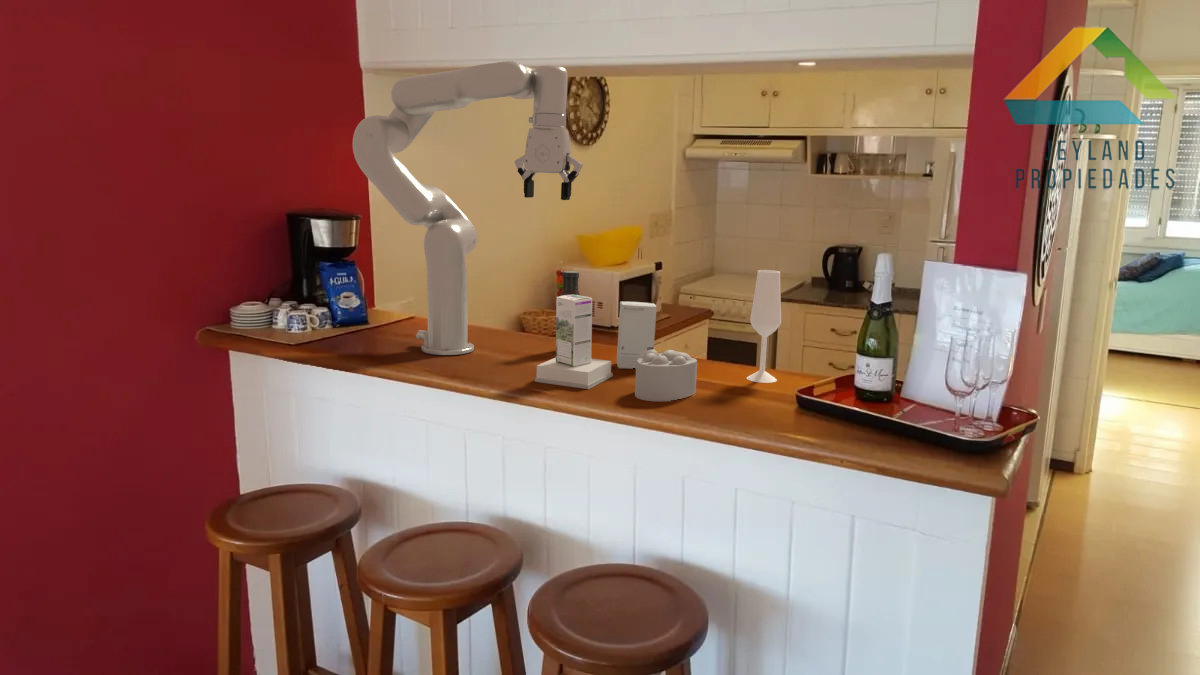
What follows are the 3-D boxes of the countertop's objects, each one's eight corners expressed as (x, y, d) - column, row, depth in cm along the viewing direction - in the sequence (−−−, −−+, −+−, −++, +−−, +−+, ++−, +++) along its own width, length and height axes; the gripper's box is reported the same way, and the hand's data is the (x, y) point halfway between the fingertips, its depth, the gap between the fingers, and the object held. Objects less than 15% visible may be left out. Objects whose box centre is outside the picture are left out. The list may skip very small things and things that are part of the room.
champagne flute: (781, 382, 189) (789, 273, 184) (752, 383, 188) (759, 273, 183) (770, 375, 196) (778, 269, 191) (742, 375, 194) (748, 269, 190)
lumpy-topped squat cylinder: (702, 394, 178) (704, 353, 176) (660, 405, 169) (662, 362, 167) (664, 384, 185) (666, 344, 183) (622, 394, 176) (623, 352, 174)
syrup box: (592, 363, 187) (594, 296, 184) (572, 367, 182) (574, 299, 180) (573, 358, 191) (575, 293, 188) (554, 362, 186) (555, 295, 184)
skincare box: (617, 369, 197) (619, 304, 194) (616, 362, 203) (618, 300, 200) (654, 369, 198) (657, 305, 195) (651, 363, 204) (654, 301, 201)
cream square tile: (534, 381, 184) (534, 365, 183) (561, 369, 195) (561, 354, 194) (588, 389, 179) (588, 372, 178) (612, 376, 190) (612, 360, 190)
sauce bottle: (578, 355, 210) (580, 274, 206) (553, 353, 211) (554, 272, 207) (584, 349, 216) (586, 270, 212) (559, 348, 217) (561, 269, 214)
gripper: (508, 120, 197) (506, 196, 201) (575, 122, 190) (572, 201, 194) (525, 122, 204) (523, 196, 207) (590, 124, 197) (587, 200, 200)
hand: (547, 198), depth 201 cm, fingers open, 9 cm apart
